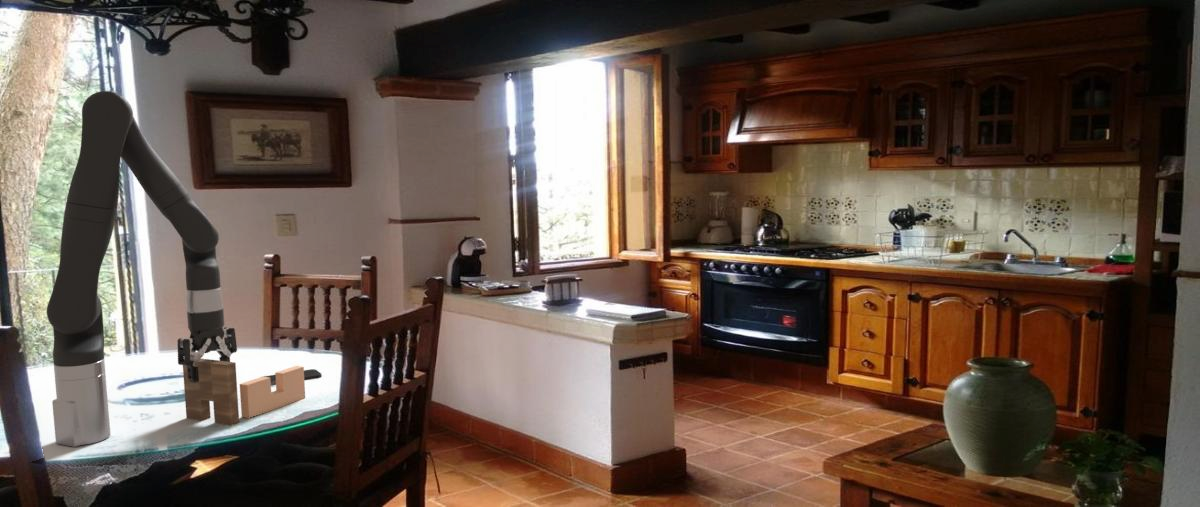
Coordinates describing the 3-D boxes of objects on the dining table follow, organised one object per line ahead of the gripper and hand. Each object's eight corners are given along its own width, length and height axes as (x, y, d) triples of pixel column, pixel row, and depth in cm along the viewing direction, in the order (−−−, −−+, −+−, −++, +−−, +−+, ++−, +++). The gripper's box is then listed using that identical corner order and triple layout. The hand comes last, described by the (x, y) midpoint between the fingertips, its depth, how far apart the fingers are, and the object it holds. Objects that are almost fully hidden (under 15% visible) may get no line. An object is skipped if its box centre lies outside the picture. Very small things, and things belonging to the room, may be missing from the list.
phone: (322, 374, 228) (265, 383, 219) (322, 378, 228) (265, 387, 219) (314, 368, 234) (258, 376, 226) (314, 372, 234) (259, 380, 226)
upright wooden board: (230, 425, 187) (226, 365, 185) (186, 418, 193) (182, 359, 191) (239, 422, 189) (235, 362, 188) (195, 415, 195) (191, 357, 193)
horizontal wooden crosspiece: (249, 418, 192) (247, 385, 191) (241, 417, 193) (239, 384, 192) (305, 397, 208) (303, 366, 207) (297, 396, 209) (296, 365, 208)
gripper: (218, 301, 196) (223, 368, 198) (166, 312, 183) (171, 383, 185) (242, 303, 193) (246, 371, 195) (190, 314, 180) (195, 387, 182)
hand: (209, 377), depth 190 cm, fingers open, 8 cm apart
